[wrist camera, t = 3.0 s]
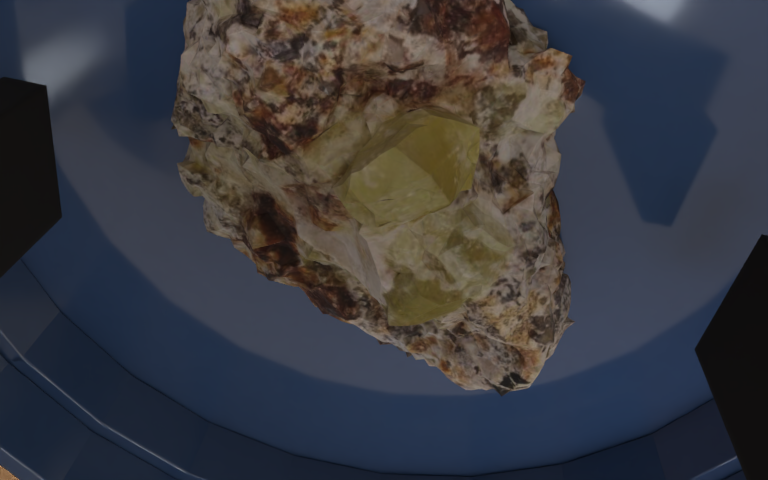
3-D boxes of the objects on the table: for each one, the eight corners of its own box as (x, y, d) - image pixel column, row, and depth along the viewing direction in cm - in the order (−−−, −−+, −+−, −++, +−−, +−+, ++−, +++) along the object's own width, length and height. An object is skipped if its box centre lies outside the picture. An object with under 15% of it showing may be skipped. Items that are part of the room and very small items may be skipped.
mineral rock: (5, 100, 12) (353, -167, 7) (146, 0, 15) (455, -233, 10) (348, 458, 16) (692, 440, 12) (402, 326, 19) (693, 271, 15)
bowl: (-13, 401, 20) (-107, 516, 17) (-286, -771, 8) (-779, -1147, 5) (683, 545, 20) (724, 689, 17) (1397, -429, 8) (2002, -583, 5)
